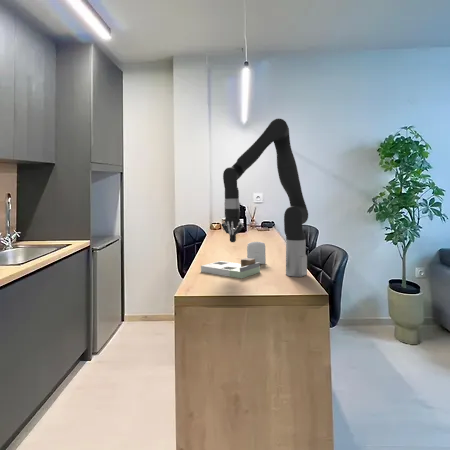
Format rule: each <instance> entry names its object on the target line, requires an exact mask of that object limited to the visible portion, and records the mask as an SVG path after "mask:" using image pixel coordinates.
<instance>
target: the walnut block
mask: <svg viewBox="0 0 450 450" xmlns="http://www.w3.org/2000/svg"><path fill="white" fill-rule="evenodd" d="M254 263H255V259H252V258H247V257H245V258H241V259H240V264H241V267H244V266H247V265H250V264H254Z"/></svg>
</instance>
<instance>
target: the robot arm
mask: <svg viewBox="0 0 450 450" xmlns="http://www.w3.org/2000/svg"><path fill="white" fill-rule="evenodd" d="M290 139H291V138H290V129H289V125H288V123H287V121H286V120H285V119H282V118H275V119H273V120H271V122H270V123H269V124H268V126H266V128H265V129H264V131H262V134H260V136H259V137H258V138H257V139H256V141H254V142H253V143H252V145H250V147H248V148H247V149H246V150H245V151H244V152H243V153H242V154H241V155H240V156H238V158H237V160H236V162H235V163H234V164H233V165H232V166H230V167H226V168H225V169H224V170H223V173H222V179H223V180H222V181H223V187H224V218H225V219H224V222H223V223H221V227H222V229H223V230H224V232H225V233H226V234H228V235H229V242H230V243H236V241H237V235H238V234H239V233H240V232H241V231H242V229H243V228H244V227H245V224H244V223H242V222H241V219H240V215H241V213H240V212H241V211H240V192H239V187H238V180H239V179H240V178H241V177H242V176H243V174H244V173H245V172H246V171H247V170H248V169H249V168H250V167H252V166H253V165H254V163H255V162H257V161H258V159H259V158H260V157H261V155H262V154H264V152H265V150H267V148H268V147H269V146H270V145H271V144H273V145H274V147H275V151H276V153H275V154H276V166H277V167H276V168H277V174H278V178H279V182H280V184H281V186H282V188H283V190H284V192H285V193H286V194H287V196H288V197H287V198H288V200H289V206H288V207H287V208H286V209H285V211H284V214H283V224H284V225H283V226H284V227H283V229H284V234H285V275H286V276H289V277H300V278H301V277H304V276H307V275H308V254H306V248H307V247H306V243H307V242H306V241H307V239H306V233H305V232H304V230H303V224H305V223H307V221H308V219H309V211H308V207H307V204H306V201H305V199H304V195H303V191H302V185H301V181H300V177H299V176H300V175H299V171H298V166H297V163H296V160H295V156H294V154H293V150H292V146H291V140H290Z"/></svg>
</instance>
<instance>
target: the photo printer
mask: <svg viewBox="0 0 450 450" xmlns="http://www.w3.org/2000/svg"><path fill="white" fill-rule="evenodd" d="M246 246H247V247H246V251H247V253H246V254H247V255H246V258H252V259H255V263H257V262H260V265H265V264H266V262H267V261H266V243H265V242H262V241H251V242H248V243H247V245H246Z"/></svg>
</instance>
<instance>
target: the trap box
mask: <svg viewBox="0 0 450 450" xmlns="http://www.w3.org/2000/svg"><path fill="white" fill-rule="evenodd" d="M200 272H201V273H206V274H213V275H218V276H226V277H229V278H231V277H232V278H236V279H243V278H247V277H250V276H252V275H256V274H259V273H260V272H261V264H260V262H257V263H254V264H250V265H247V266H244V267H241V263H240V262H239V263H237V262H232V261H231V262H230V261H225V260H224V261H223V260H220V261H214V262H211V263H207V264H203V265H200Z"/></svg>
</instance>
